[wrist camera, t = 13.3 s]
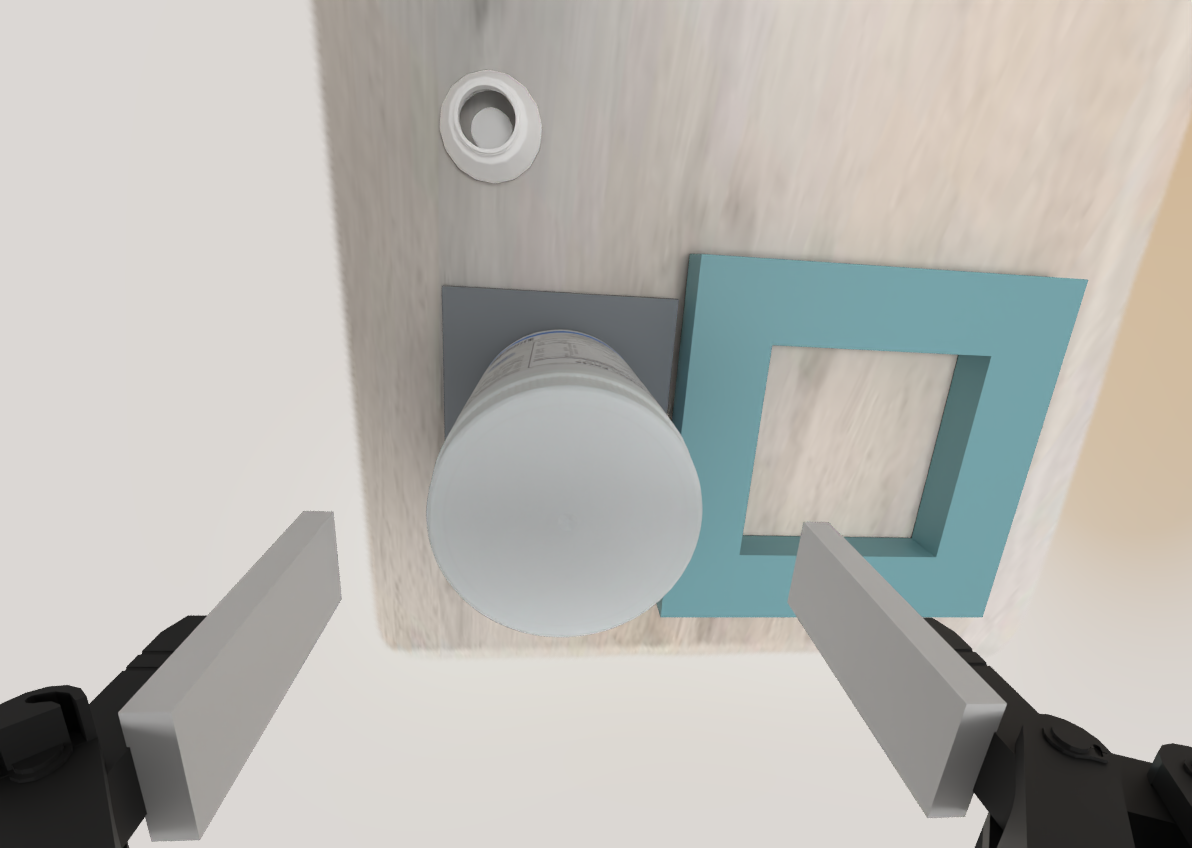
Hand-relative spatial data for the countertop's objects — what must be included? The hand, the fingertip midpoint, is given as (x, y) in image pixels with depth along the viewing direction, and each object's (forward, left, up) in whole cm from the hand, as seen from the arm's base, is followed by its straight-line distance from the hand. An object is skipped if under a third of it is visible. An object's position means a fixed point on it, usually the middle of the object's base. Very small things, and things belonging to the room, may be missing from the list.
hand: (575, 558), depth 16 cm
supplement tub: (0, 0, -18) cm, 18 cm away
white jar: (-14, -4, -18) cm, 23 cm away
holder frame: (+2, +18, -18) cm, 25 cm away
